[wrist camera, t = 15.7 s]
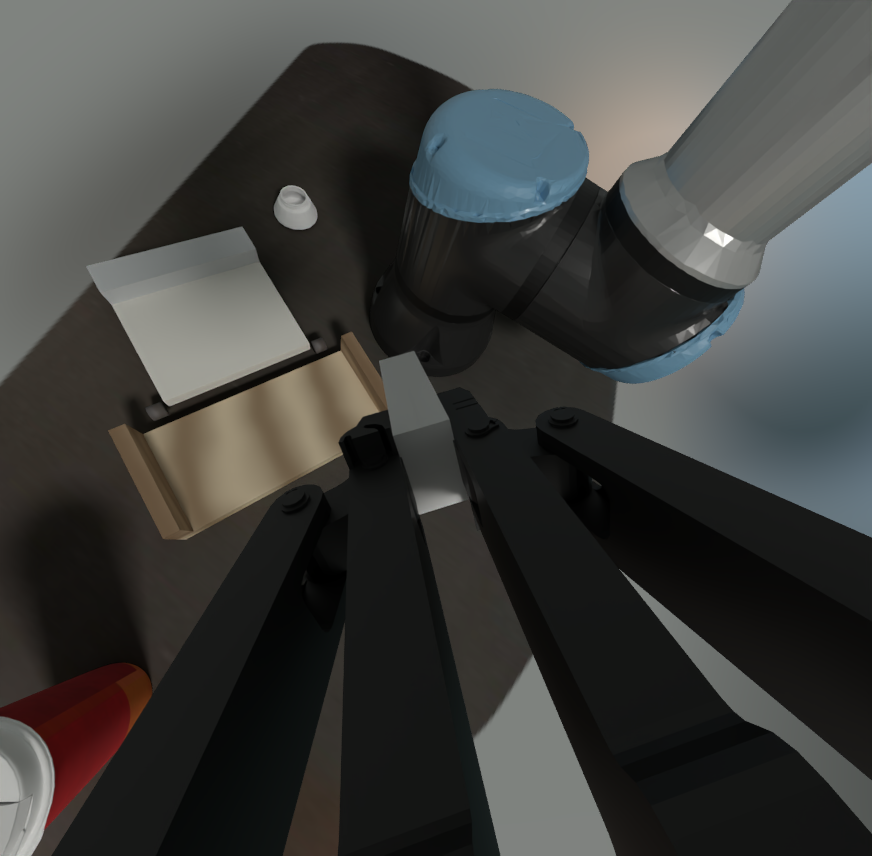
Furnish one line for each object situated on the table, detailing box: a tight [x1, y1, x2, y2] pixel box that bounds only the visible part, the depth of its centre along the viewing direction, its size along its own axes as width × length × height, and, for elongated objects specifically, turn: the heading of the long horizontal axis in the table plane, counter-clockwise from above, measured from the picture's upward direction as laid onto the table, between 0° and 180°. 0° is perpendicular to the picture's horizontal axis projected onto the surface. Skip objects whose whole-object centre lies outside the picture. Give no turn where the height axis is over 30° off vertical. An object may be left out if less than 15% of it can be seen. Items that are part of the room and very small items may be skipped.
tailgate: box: [86, 227, 310, 406], centre depth 36 cm, size 14×3×14 cm
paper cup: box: [0, 663, 152, 856], centre depth 21 cm, size 8×8×14 cm
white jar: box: [274, 186, 317, 230], centre depth 44 cm, size 5×3×5 cm
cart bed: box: [109, 332, 388, 540], centre depth 35 cm, size 22×12×4 cm, turn 124°
